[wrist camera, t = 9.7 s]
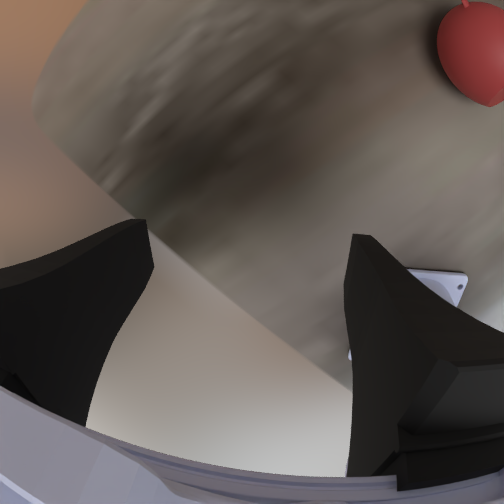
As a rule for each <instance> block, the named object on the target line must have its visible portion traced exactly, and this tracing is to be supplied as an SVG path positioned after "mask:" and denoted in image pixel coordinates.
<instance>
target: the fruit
mask: <svg viewBox="0 0 504 504" xmlns="http://www.w3.org/2000/svg"><path fill="white" fill-rule="evenodd" d="M461 1H462V4H460V5H458V6H456V7H454V8H453V9H451V10H450V11H449V12H448V13H447V14H446V15H445V17H444V18H443V19H442V21H441V23H440V26H439V29H438V34H437V50H438V55H439V58H440V62H441V64H442V66H443V69H444V71H445V72H446V74H447V76H448V77H449V79H450V80H451V81H452V83H453V84H454V85H455V86H456V87H457V88H458V89H459V90H460V91H461V92H462V93H463V94H464V95H466V96H467V97H468V98H470V99H472V100H473V101H475V102H477V103H479V104H482V105H484V106H488V107H492V106H494V105H497V104H498V103H500V102H502V101H503V100H504V10H503V9H501V8H499V7H497V6H494V5H491V4H488V3H483V2H468V1H467V0H461Z"/></svg>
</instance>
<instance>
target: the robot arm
mask: <svg viewBox="0 0 504 504" xmlns="http://www.w3.org/2000/svg"><path fill="white" fill-rule="evenodd" d="M153 269H154V263H153V258H152V252H151V247H150V242H149V236H148V230H147V224H146V220H145V219H130V220H126V221H123V222H120V223H117V224H115V225H113V226H110V227H108V228H106V229H104V230H101V231H99V232H97V233H95V234H93V235H91V236H89V237H87V238H84V239H82V240H80V241H78V242H75V243H73V244H71V245H69V246H67V247H64V248H62V249H60V250H57V251H55V252H52V253H50V254H47V255H44V256H42V257H39V258H36V259H33V260H30V261H27V262H23V263H20V264H17V265H13V266H10V267H6V268H1V269H0V504H504V333H503V332H501V331H499V330H496V329H494V328H492V327H490V326H488V325H486V324H485V323H483V322H481V321H479V320H477V319H475V318H473V317H472V316H470V315H468V314H466V313H465V312H463V311H462V310H460V309H458V308H457V305H458V303H459V301H460V299H461V296H462V294H463V291H464V289H465V287H466V284H467V282H468V277H467V276H466V274H464V273H453V272H440V271H426V270H413V269H406V268H405V267H404V266H403V265H402V264H401V263H399V262H398V261H397V260H396V259H395V258H394V257H393V256H392V255H391V254H390V253H389V252H388V251H387V250H386V249H385V248H384V247H383V246H382V245H381V244H380V243H379V242H378V241H377V240H376V239H375V238H373V237H372V236H371V235H363V234H353V235H352V241H351V247H350V253H349V259H348V264H347V270H346V275H345V280H344V310H345V317H346V324H347V330H348V337H349V344H350V350H349V353H348V358H349V360H352V370H353V404H352V426H351V439H350V450H349V457H348V461H347V465H346V471H345V477H309V476H293V475H280V474H270V473H262V472H254V471H246V470H240V469H233V468H227V467H221V466H216V465H211V464H206V463H201V462H196V461H192V460H187V459H183V458H179V457H175V456H171V455H167V454H163V453H160V452H156V451H153V450H149V449H145V448H143V447H139V446H136V445H133V444H130V443H127V442H124V441H120V440H118V439H115V438H112V437H109V436H106V435H103V434H101V433H99V432H96V431H94V430H91V429H88V428H86V427H85V426H86V421H87V417H88V412H89V407H90V404H91V400H92V397H93V394H94V390H95V387H96V384H97V381H98V378H99V375H100V372H101V370H102V367H103V364H104V362H105V359H106V357H107V355H108V352H109V350H110V348H111V345H112V343H113V341H114V339H115V337H116V335H117V333H118V332H119V330H120V328H121V327H122V325H123V323H124V322H125V320H126V318H127V317H128V315H129V314H130V312H131V310H132V309H133V307H134V306H135V304H136V302H137V301H138V299H139V297H140V296H141V294H142V293H143V291H144V289H145V287H146V285H147V283H148V281H149V279H150V276H151V274H152V271H153ZM460 284H461V285H460ZM459 285H460V286H459ZM458 286H459V287H458Z"/></svg>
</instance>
